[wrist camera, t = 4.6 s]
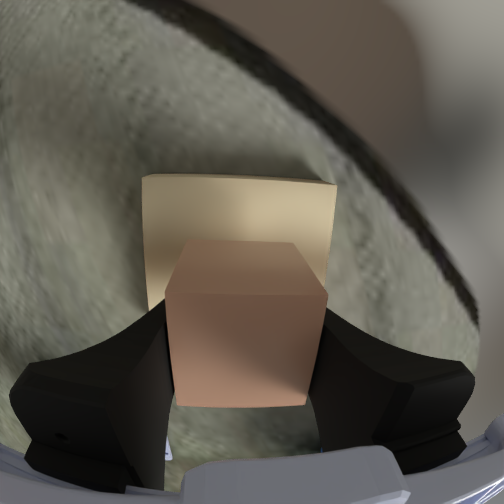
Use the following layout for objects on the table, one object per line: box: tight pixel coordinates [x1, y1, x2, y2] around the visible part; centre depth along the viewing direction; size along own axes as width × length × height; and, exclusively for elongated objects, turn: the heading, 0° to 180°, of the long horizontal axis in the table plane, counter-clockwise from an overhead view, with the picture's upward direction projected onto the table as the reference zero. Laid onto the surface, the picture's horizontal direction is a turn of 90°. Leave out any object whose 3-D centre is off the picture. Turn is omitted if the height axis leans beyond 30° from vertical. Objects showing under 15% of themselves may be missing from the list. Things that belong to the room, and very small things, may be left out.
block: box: [165, 239, 328, 408], centre depth 11 cm, size 4×4×5 cm
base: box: [142, 174, 337, 311], centre depth 17 cm, size 10×10×2 cm
